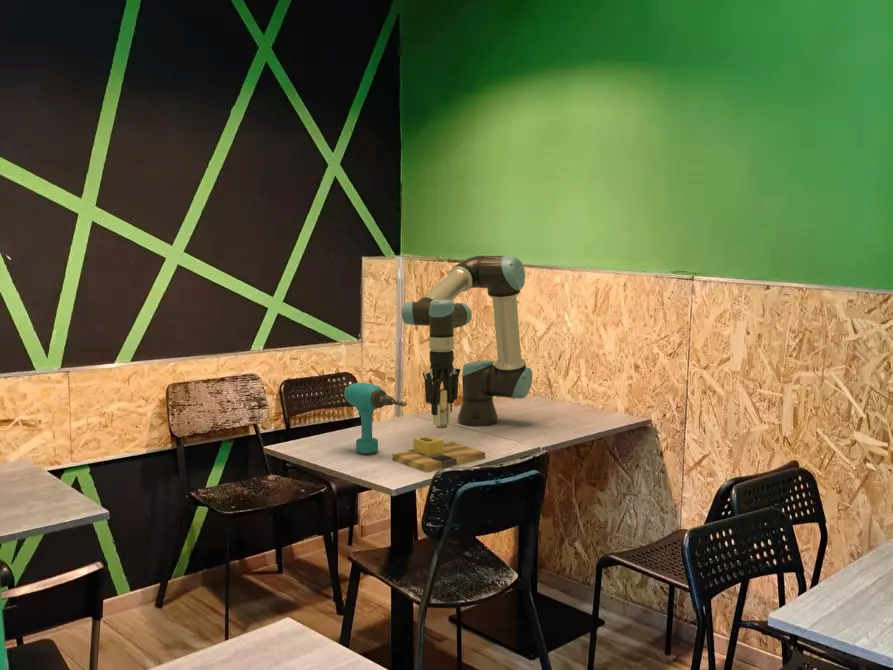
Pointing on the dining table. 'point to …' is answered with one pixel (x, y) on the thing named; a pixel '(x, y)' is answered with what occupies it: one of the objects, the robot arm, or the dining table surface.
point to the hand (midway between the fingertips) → (441, 423)
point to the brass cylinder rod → (443, 408)
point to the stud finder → (428, 445)
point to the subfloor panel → (439, 457)
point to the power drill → (368, 411)
